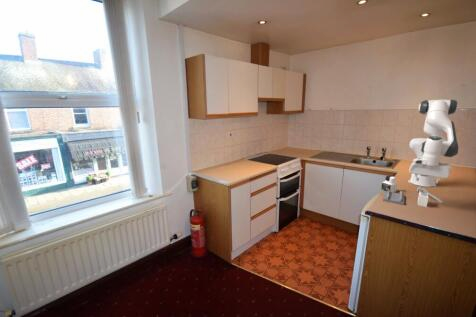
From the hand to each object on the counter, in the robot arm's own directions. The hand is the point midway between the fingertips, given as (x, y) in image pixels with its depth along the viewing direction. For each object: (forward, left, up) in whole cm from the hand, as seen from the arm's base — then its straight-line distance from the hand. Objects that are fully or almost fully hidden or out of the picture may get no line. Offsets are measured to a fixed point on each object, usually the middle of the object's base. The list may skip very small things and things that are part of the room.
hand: (426, 181), depth 150 cm
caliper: (-18, +5, -17) cm, 25 cm away
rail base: (0, -16, -16) cm, 23 cm away
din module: (0, 0, -16) cm, 16 cm away
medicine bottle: (-15, -20, -16) cm, 30 cm away
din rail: (0, -16, -14) cm, 22 cm away
